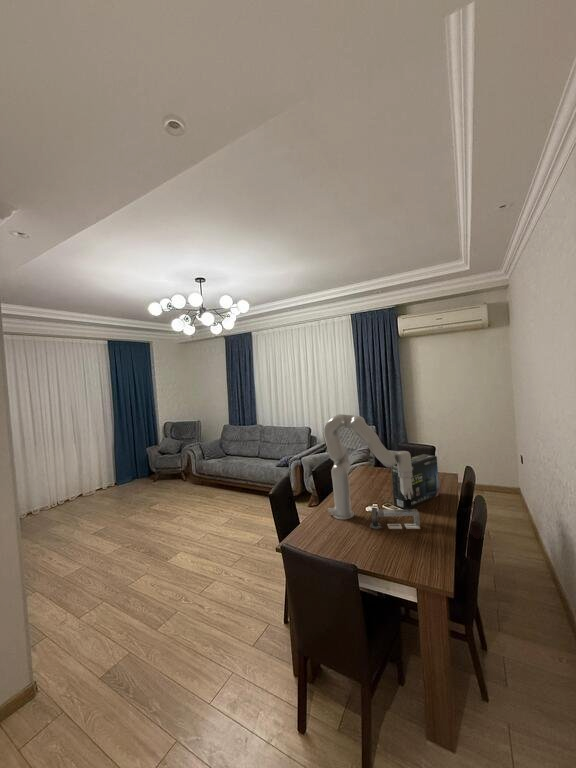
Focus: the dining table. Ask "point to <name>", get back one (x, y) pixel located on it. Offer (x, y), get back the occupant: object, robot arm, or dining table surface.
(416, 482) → the router box
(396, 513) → the cable arm
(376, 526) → the post
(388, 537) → the dining table surface
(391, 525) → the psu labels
